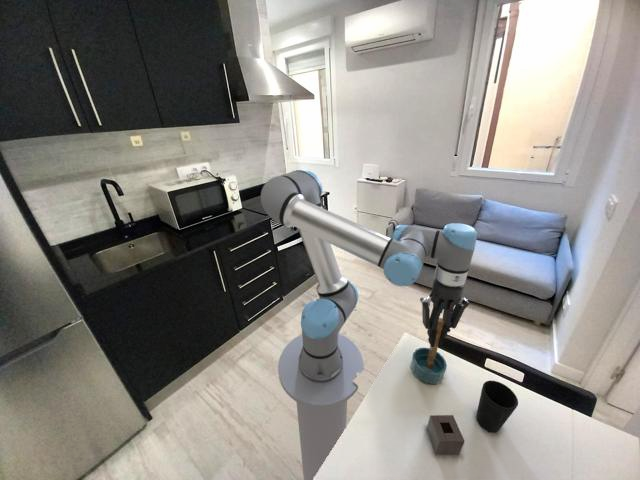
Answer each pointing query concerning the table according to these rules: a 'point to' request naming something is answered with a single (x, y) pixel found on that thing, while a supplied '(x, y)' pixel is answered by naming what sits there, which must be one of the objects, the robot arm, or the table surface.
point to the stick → (434, 349)
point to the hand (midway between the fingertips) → (434, 343)
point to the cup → (495, 406)
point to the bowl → (421, 369)
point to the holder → (445, 435)
